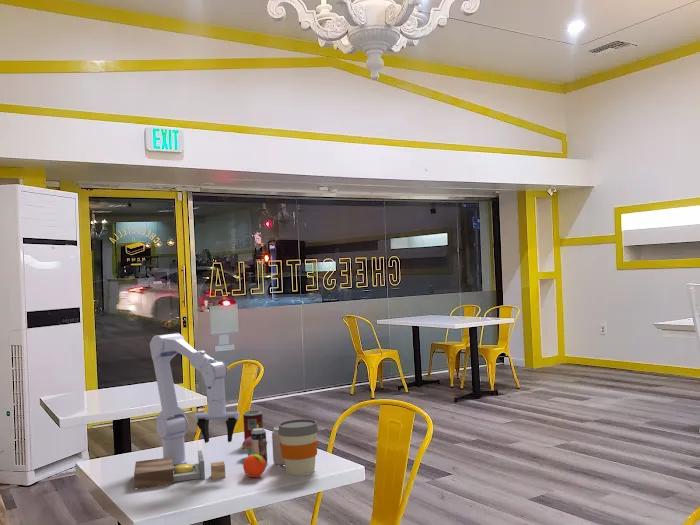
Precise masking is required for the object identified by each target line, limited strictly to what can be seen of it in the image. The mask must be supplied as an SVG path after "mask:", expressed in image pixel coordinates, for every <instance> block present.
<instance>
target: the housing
mask: <svg viewBox="0 0 700 525" xmlns="http://www.w3.org/2000/svg"><path fill="white" fill-rule="evenodd" d="M173 467H174V465H173V459H172V457H170V458H163V457H162V458H155V459H148V460H146V459H145V460H139V461H135V465H134V472H133V483H134V489H135V488H138V489H144V487H146V488H151V486H153V487H159V486H158V485H161V486H166V484H168V485H174V484H175V482H174V479H173Z"/></svg>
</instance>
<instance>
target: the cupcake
mask: <svg viewBox="0 0 700 525" xmlns="http://www.w3.org/2000/svg"><path fill="white" fill-rule="evenodd" d="M258 427H259V425H257V428H258ZM266 444H267V445H268V441H267V440H266ZM241 445H242V449H245V451H246V454H247V457H248V456H249V455H252V440H251V437H249V438H247V439H246V440H245V439H244V440H243V441H242V444H241Z"/></svg>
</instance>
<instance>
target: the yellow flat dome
mask: <svg viewBox="0 0 700 525" xmlns="http://www.w3.org/2000/svg"><path fill="white" fill-rule="evenodd" d="M192 464H193V463H186V464H179V465H174V466H175V467H174V466H173V467H174V474H182V473H190V472H193V465H192Z"/></svg>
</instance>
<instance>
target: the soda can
mask: <svg viewBox="0 0 700 525" xmlns="http://www.w3.org/2000/svg"><path fill="white" fill-rule="evenodd" d="M242 416H243V436H244V437H243V438H244V441H245V440H246V439H247V438H249V437H251V432H252V430H253V429H255V428H257V425H259V427H258V428H264V420H263V418H264V417H263V412H262V411H260V410H247V411H245V413H243V415H242Z"/></svg>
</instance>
